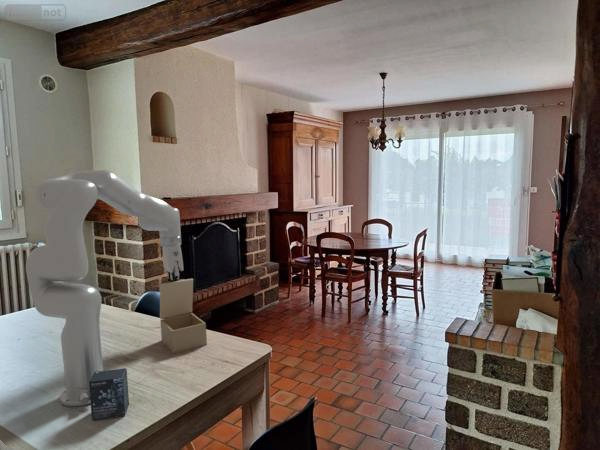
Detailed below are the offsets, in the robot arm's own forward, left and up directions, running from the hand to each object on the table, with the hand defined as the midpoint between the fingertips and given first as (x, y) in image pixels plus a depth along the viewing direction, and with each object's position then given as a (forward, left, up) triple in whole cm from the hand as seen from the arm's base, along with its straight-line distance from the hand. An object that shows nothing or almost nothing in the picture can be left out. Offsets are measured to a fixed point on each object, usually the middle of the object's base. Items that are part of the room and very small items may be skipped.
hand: (173, 288), depth 151 cm
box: (-41, +30, -19) cm, 54 cm away
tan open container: (-9, 0, -18) cm, 20 cm away
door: (-4, 0, -3) cm, 5 cm away
